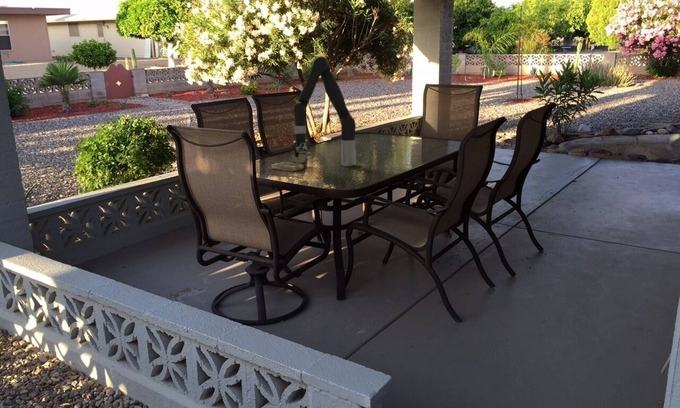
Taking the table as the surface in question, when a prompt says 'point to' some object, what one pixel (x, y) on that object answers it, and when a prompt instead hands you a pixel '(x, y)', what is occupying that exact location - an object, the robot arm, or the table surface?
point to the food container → (300, 157)
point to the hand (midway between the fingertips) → (300, 156)
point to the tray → (287, 166)
